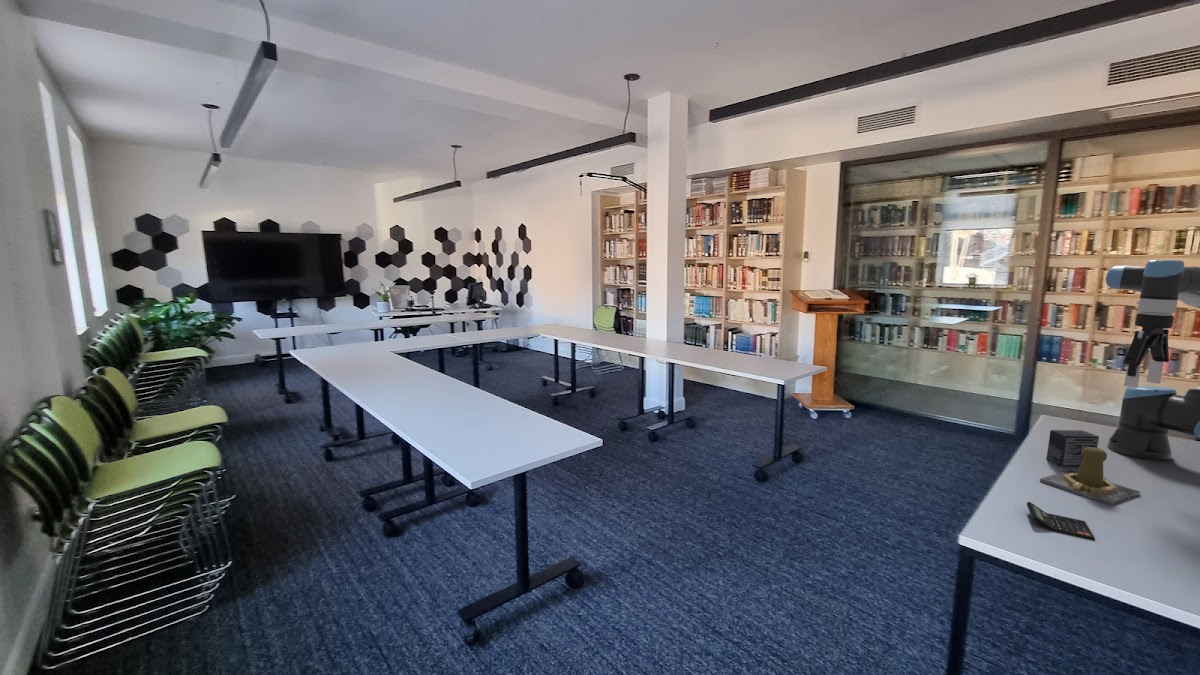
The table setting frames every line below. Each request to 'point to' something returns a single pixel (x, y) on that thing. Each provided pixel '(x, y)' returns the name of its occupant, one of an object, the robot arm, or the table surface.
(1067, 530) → the calculator
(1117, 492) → the socket
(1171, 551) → the table surface
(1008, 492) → the table surface
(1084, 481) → the cork
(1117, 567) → the table surface
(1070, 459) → the small box
